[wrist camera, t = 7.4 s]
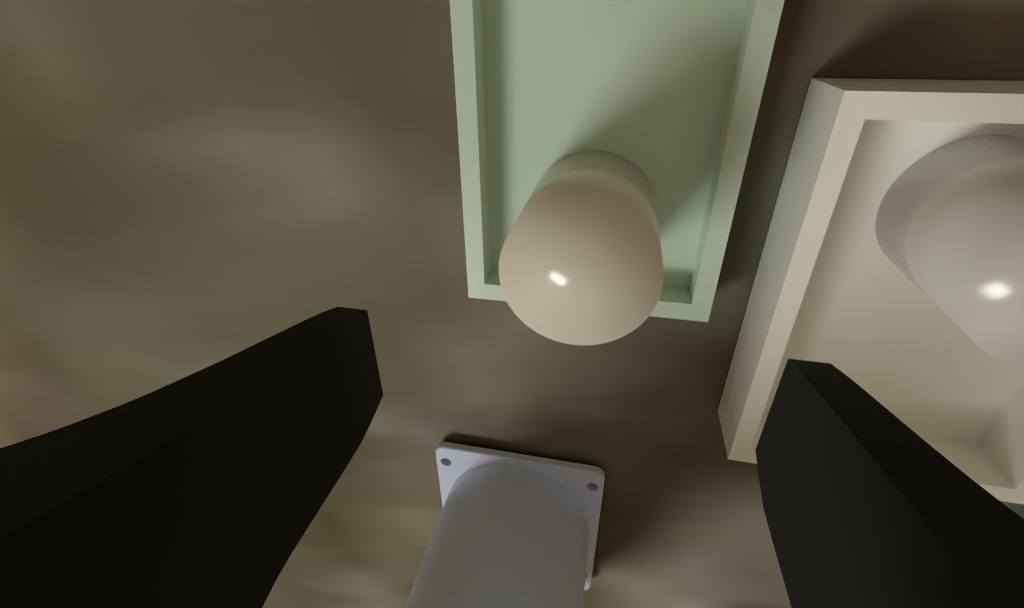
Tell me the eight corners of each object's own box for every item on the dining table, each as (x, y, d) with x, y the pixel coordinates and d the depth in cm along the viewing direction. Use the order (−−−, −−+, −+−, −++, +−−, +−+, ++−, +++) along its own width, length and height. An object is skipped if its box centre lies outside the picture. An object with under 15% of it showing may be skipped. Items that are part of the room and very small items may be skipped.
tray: (702, 297, 17) (708, 322, 16) (480, 276, 18) (468, 297, 17) (807, -172, 11) (830, -198, 9) (460, -146, 12) (439, -165, 11)
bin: (980, 446, 18) (1027, 504, 15) (717, 410, 19) (727, 459, 17) (1231, 83, 11) (1365, 100, 9) (811, 77, 13) (845, 91, 11)
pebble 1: (647, 274, 16) (651, 353, 13) (529, 264, 17) (500, 336, 13) (665, 153, 14) (677, 204, 10) (531, 147, 15) (496, 193, 11)
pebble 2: (1019, 275, 14) (1162, 374, 10) (859, 274, 15) (936, 365, 11) (1086, 129, 12) (1295, 184, 8) (897, 139, 13) (1006, 193, 9)
